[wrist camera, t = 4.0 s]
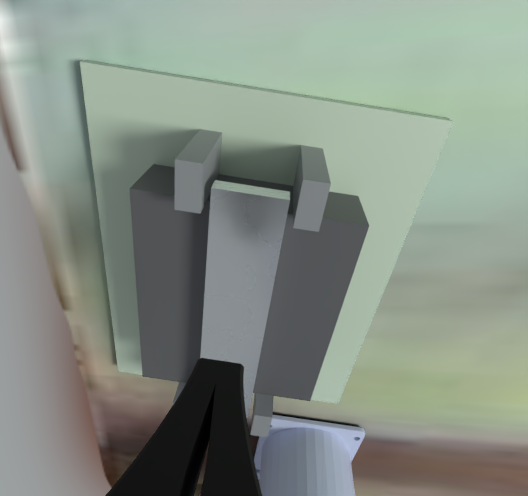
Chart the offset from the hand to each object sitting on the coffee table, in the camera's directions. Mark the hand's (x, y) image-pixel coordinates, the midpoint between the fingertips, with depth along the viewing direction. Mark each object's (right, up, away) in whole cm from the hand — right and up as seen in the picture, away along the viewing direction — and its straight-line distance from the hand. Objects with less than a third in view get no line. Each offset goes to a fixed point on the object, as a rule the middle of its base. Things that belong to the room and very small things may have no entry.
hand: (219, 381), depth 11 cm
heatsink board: (0, +3, +10) cm, 10 cm away
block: (0, +1, +7) cm, 7 cm away
